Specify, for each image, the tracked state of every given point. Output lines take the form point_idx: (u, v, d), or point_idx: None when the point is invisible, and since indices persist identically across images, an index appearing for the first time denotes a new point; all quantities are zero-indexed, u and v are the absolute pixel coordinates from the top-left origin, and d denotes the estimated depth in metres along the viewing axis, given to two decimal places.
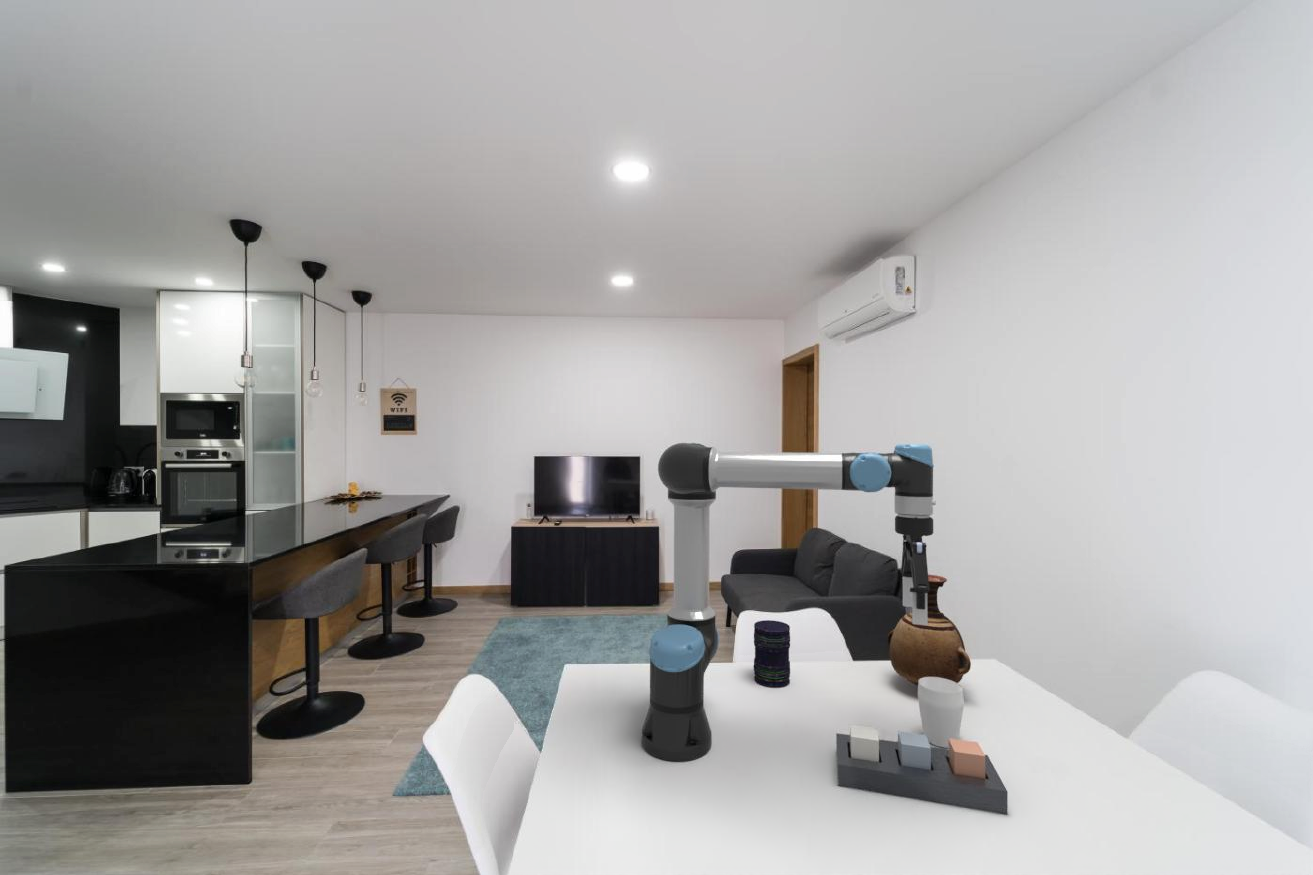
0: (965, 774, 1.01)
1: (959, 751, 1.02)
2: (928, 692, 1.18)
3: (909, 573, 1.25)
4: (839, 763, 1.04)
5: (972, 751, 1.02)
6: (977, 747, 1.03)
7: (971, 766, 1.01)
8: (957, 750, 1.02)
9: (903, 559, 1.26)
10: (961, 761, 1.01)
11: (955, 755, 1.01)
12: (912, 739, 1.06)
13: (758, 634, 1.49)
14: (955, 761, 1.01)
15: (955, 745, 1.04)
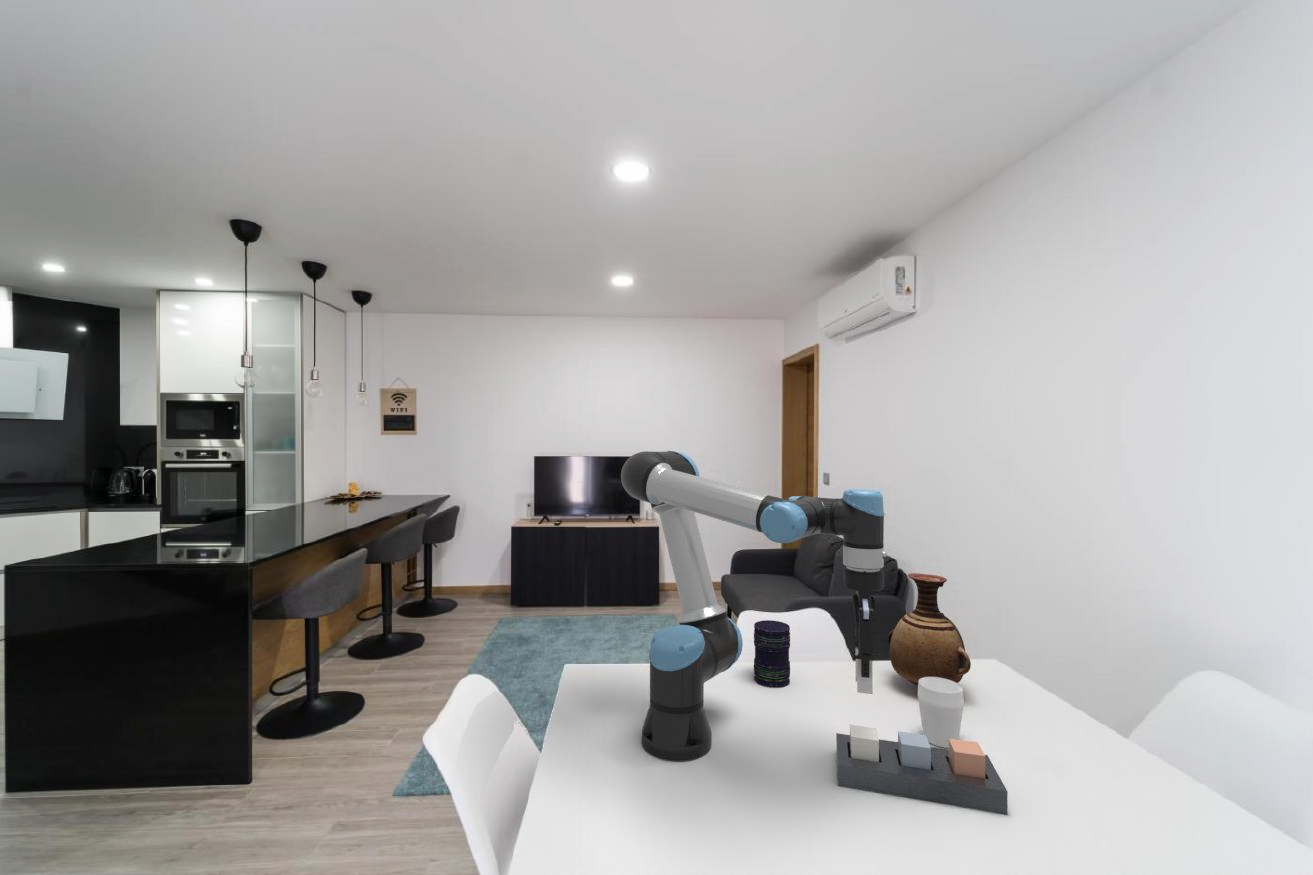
0: (965, 774, 1.01)
1: (959, 751, 1.02)
2: (928, 692, 1.18)
3: None
4: (839, 763, 1.04)
5: (972, 751, 1.02)
6: (977, 747, 1.03)
7: (971, 766, 1.01)
8: (957, 750, 1.02)
9: (856, 623, 1.14)
10: (961, 761, 1.01)
11: (955, 755, 1.01)
12: (912, 739, 1.06)
13: (758, 634, 1.49)
14: (955, 761, 1.01)
15: (955, 745, 1.04)
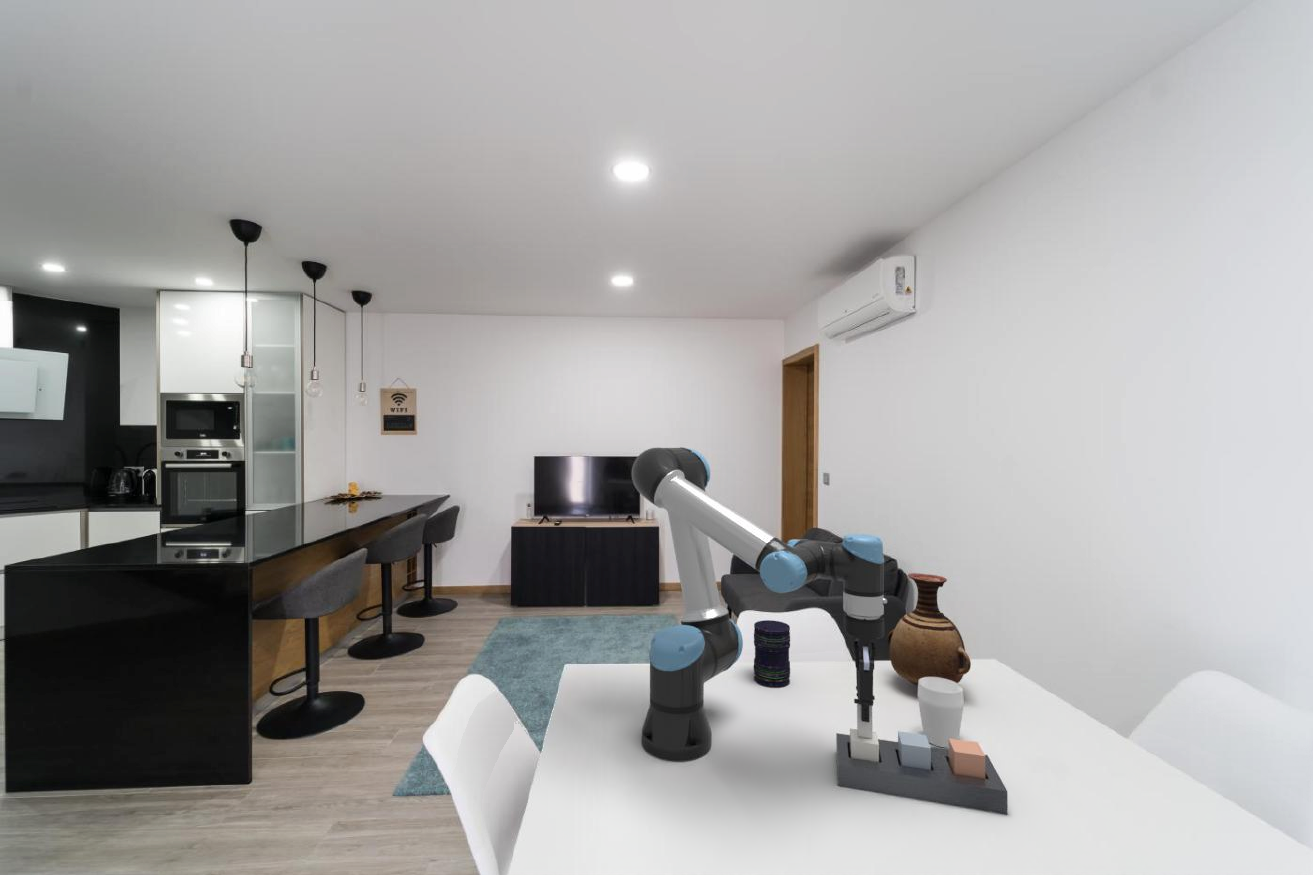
0: (965, 774, 1.01)
1: (959, 751, 1.02)
2: (928, 692, 1.18)
3: None
4: (839, 763, 1.04)
5: (972, 751, 1.02)
6: (977, 747, 1.03)
7: (971, 766, 1.01)
8: (957, 750, 1.02)
9: (857, 671, 1.12)
10: (961, 761, 1.01)
11: (955, 755, 1.01)
12: (912, 739, 1.06)
13: (758, 634, 1.49)
14: (955, 761, 1.01)
15: (955, 745, 1.04)
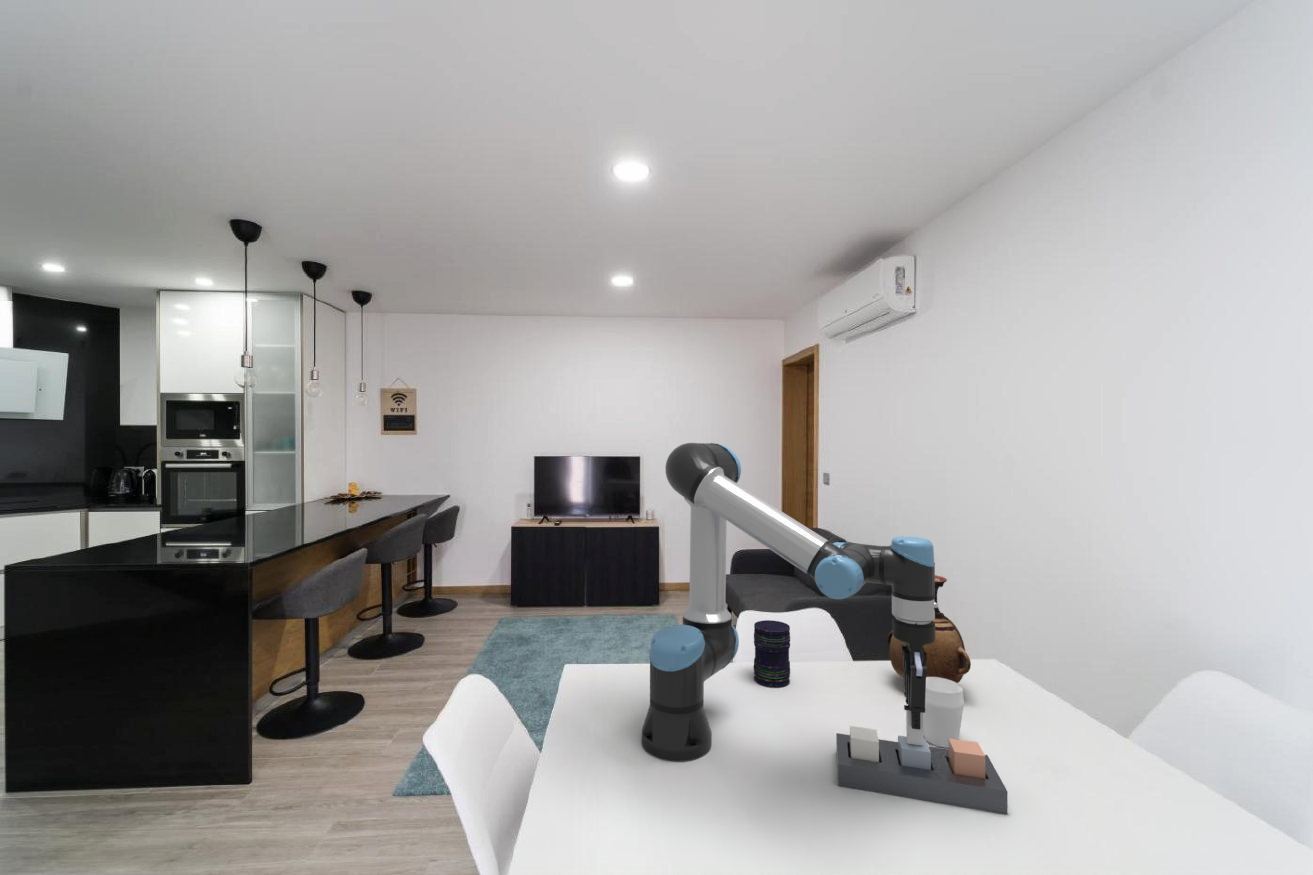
0: (965, 774, 1.01)
1: (959, 751, 1.02)
2: (928, 692, 1.18)
3: None
4: (839, 763, 1.04)
5: (972, 751, 1.02)
6: (977, 747, 1.03)
7: (971, 766, 1.01)
8: (957, 750, 1.02)
9: (905, 677, 1.09)
10: (961, 761, 1.01)
11: (955, 755, 1.01)
12: None
13: (758, 634, 1.49)
14: (955, 761, 1.01)
15: (955, 745, 1.04)
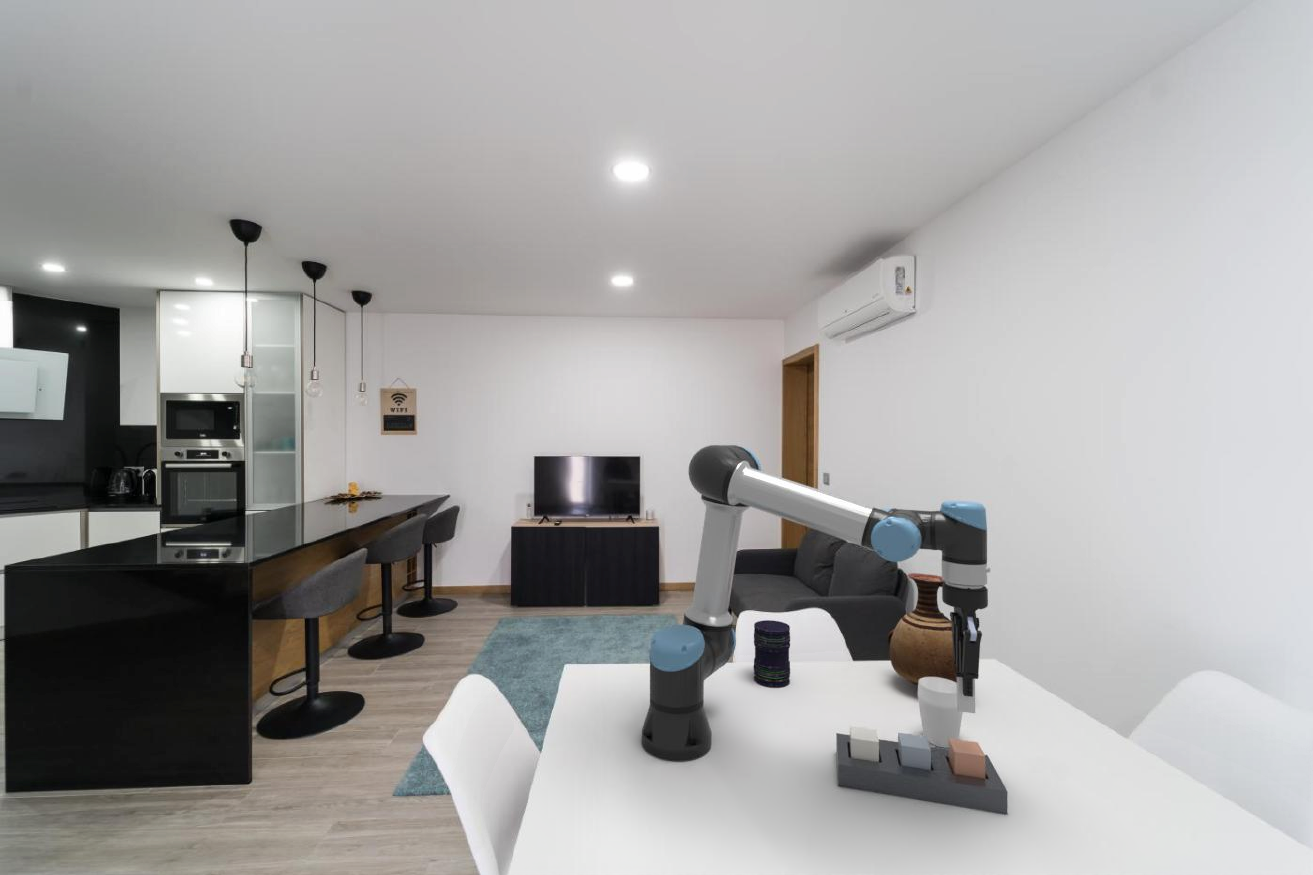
0: (965, 774, 1.01)
1: (959, 751, 1.02)
2: (928, 692, 1.18)
3: None
4: (839, 763, 1.04)
5: (972, 751, 1.02)
6: (977, 747, 1.03)
7: (971, 766, 1.01)
8: (957, 750, 1.02)
9: (954, 645, 1.07)
10: (961, 761, 1.01)
11: (955, 755, 1.01)
12: (912, 740, 1.06)
13: (758, 634, 1.49)
14: (955, 761, 1.01)
15: (955, 745, 1.04)
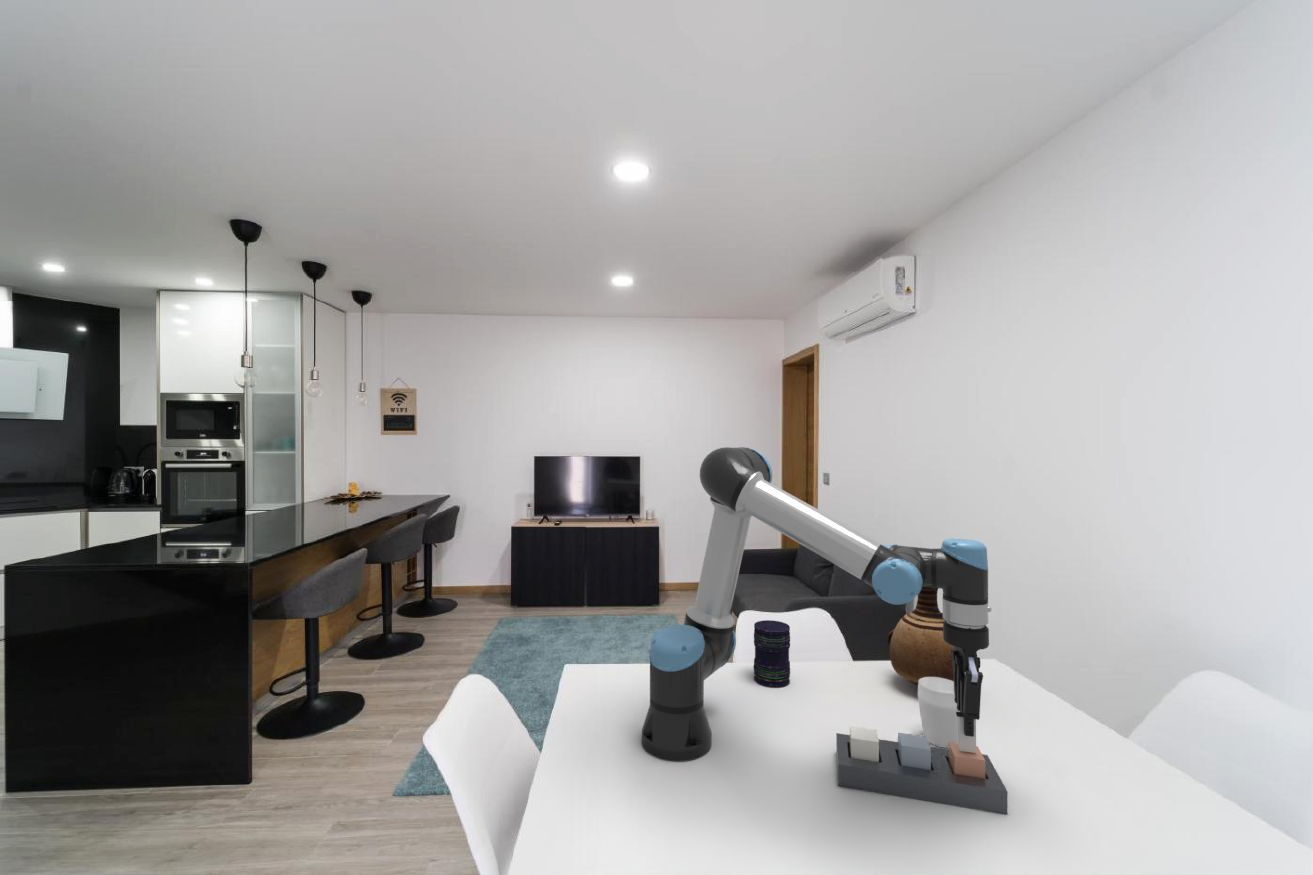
0: None
1: (959, 755, 1.02)
2: (928, 692, 1.18)
3: None
4: (839, 763, 1.04)
5: (972, 756, 1.01)
6: (977, 751, 1.03)
7: (971, 770, 1.01)
8: (957, 754, 1.02)
9: (955, 682, 1.07)
10: (961, 766, 1.01)
11: (955, 759, 1.01)
12: (912, 740, 1.06)
13: (758, 634, 1.49)
14: (955, 765, 1.01)
15: (955, 749, 1.04)
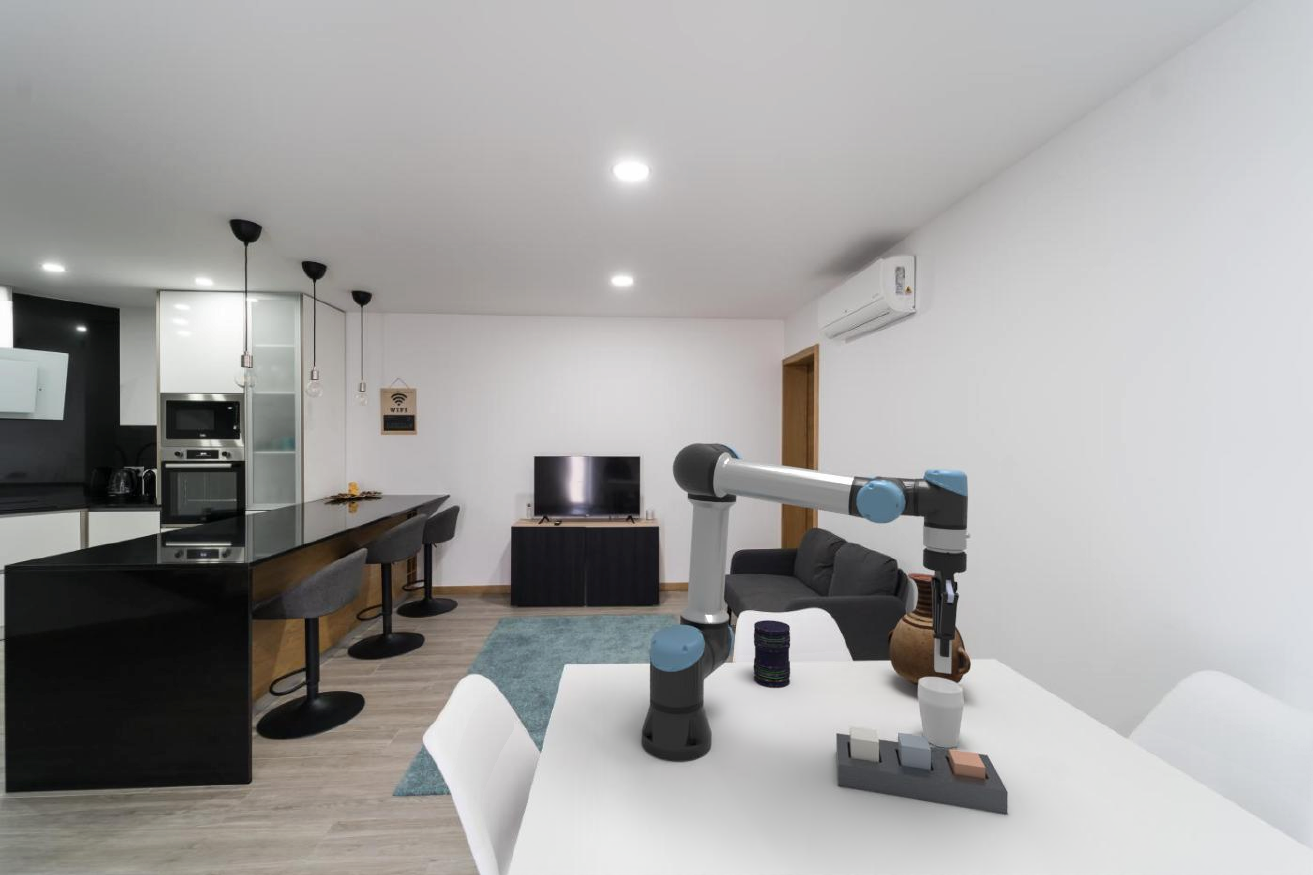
0: None
1: (959, 762, 1.02)
2: (928, 692, 1.18)
3: None
4: (839, 763, 1.04)
5: (972, 763, 1.01)
6: (977, 758, 1.03)
7: None
8: (957, 761, 1.02)
9: (934, 609, 1.10)
10: (961, 773, 1.01)
11: (955, 766, 1.01)
12: (912, 740, 1.06)
13: (758, 634, 1.49)
14: (955, 773, 1.01)
15: (955, 756, 1.04)
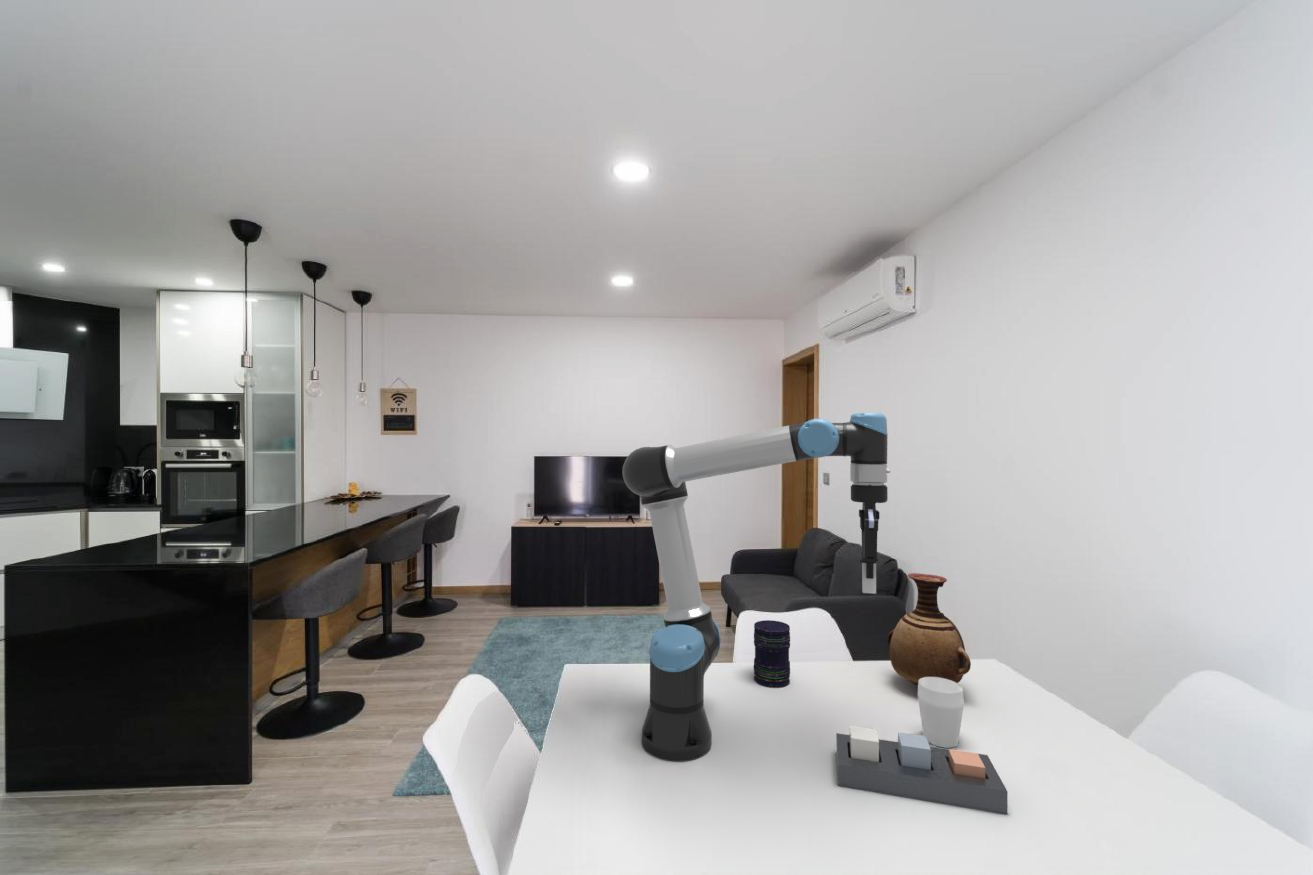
0: None
1: (959, 762, 1.02)
2: (928, 692, 1.18)
3: None
4: (839, 763, 1.04)
5: (972, 763, 1.01)
6: (977, 758, 1.03)
7: None
8: (957, 761, 1.02)
9: (862, 539, 1.24)
10: (961, 773, 1.01)
11: (955, 766, 1.01)
12: (912, 740, 1.06)
13: (758, 634, 1.49)
14: (955, 773, 1.01)
15: (955, 756, 1.04)
